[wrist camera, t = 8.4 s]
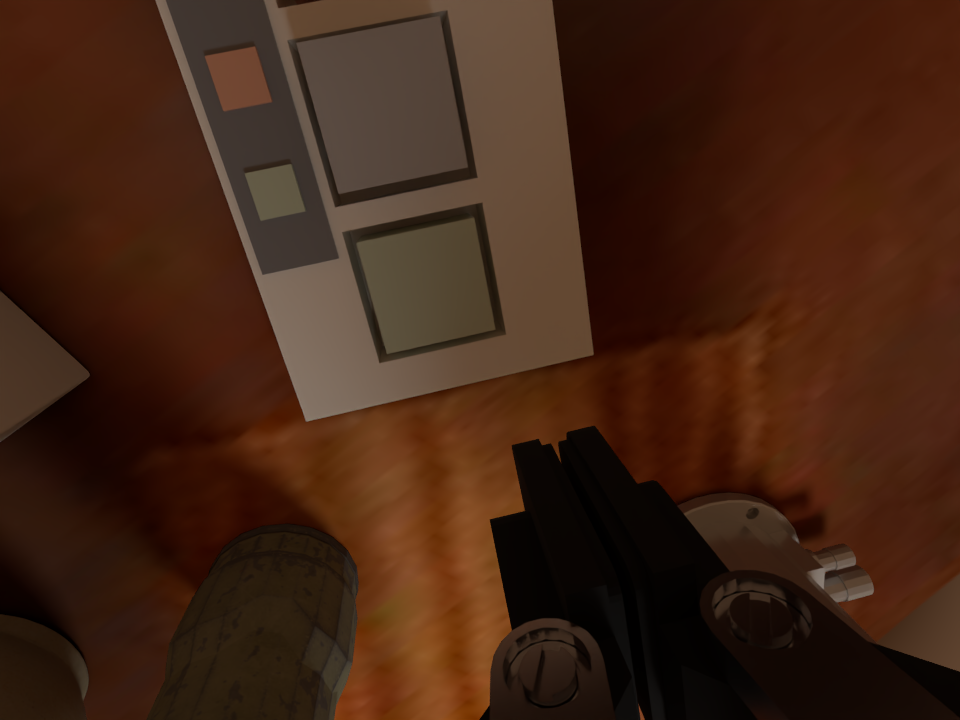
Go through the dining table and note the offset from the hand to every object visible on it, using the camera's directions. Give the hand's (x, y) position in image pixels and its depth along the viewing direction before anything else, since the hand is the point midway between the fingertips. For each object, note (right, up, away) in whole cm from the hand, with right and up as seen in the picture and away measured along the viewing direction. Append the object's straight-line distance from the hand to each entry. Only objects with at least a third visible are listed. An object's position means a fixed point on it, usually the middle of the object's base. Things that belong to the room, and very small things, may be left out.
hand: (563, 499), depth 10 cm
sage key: (-4, +7, +14) cm, 16 cm away
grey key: (-5, +13, +11) cm, 17 cm away
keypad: (-6, +14, +13) cm, 20 cm away
